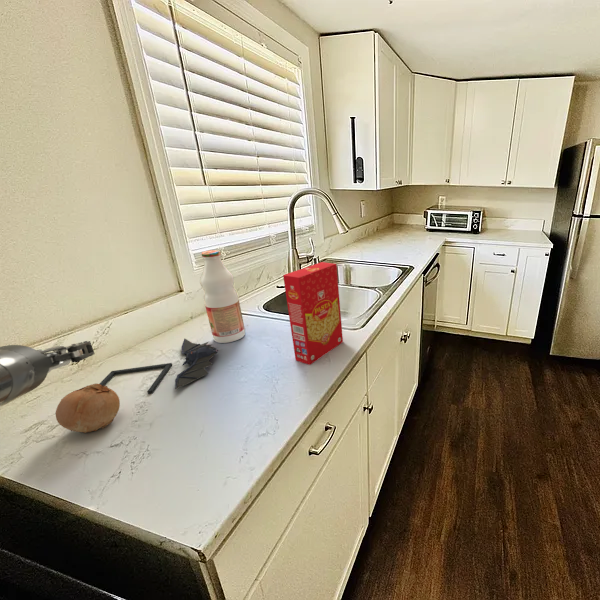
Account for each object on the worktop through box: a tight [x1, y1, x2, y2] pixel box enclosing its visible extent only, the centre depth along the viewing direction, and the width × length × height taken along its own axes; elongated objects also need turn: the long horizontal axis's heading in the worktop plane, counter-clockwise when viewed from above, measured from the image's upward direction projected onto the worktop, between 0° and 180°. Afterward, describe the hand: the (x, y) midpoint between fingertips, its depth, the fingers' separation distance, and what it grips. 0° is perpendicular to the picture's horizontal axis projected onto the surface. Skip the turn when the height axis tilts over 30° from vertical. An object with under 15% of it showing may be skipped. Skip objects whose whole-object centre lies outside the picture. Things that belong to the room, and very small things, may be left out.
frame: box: [99, 362, 173, 395], centre depth 82 cm, size 14×13×1 cm
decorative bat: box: [174, 338, 219, 390], centre depth 91 cm, size 30×4×10 cm
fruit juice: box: [199, 249, 246, 344], centre depth 100 cm, size 9×9×28 cm
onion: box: [55, 383, 121, 434], centre depth 67 cm, size 10×9×10 cm
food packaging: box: [282, 261, 344, 366], centre depth 92 cm, size 15×5×25 cm, turn 152°
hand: (51, 355), depth 58 cm, fingers open, 8 cm apart
